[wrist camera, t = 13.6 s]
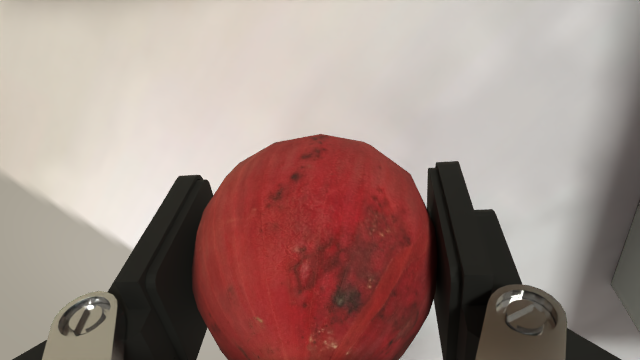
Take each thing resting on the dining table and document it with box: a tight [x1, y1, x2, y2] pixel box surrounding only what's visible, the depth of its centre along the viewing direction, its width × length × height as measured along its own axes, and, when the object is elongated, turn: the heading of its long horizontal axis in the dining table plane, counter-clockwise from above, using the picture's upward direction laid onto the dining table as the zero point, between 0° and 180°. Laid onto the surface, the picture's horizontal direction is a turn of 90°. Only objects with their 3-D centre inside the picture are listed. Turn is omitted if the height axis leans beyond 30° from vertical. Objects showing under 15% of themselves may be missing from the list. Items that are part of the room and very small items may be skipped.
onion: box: [192, 134, 438, 360], centre depth 11 cm, size 6×6×8 cm
